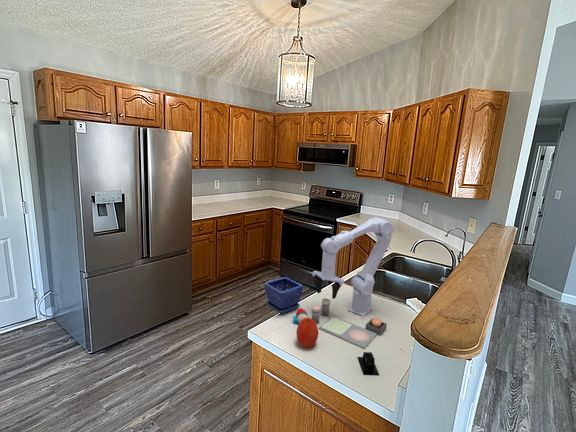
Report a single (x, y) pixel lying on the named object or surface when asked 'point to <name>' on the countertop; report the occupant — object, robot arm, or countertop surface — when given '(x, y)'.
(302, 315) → the toy figure
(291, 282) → the flower pot
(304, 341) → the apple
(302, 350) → the countertop surface
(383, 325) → the button housing
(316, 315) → the rose marker
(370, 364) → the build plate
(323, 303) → the sage marker
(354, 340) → the picture board
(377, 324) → the button
